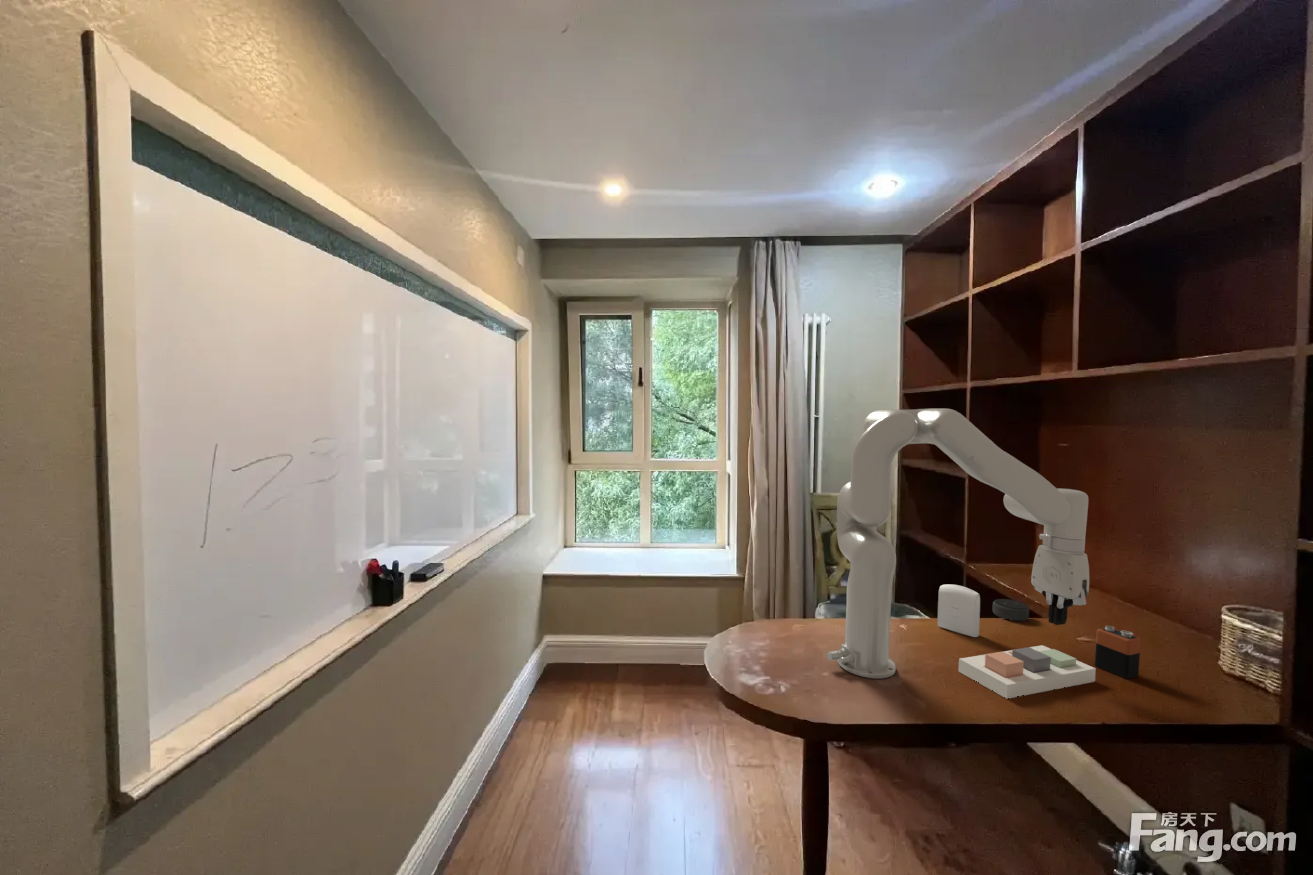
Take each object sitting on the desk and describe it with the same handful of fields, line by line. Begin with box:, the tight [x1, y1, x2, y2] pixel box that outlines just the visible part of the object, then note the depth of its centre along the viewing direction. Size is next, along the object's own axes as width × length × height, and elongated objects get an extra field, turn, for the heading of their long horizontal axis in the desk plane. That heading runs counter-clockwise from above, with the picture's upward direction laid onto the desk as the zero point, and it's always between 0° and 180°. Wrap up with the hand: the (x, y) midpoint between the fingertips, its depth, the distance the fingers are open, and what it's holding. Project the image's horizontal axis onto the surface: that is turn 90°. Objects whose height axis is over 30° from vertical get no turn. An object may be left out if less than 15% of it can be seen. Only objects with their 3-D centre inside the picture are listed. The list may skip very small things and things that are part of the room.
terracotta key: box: [984, 650, 1024, 678], centre depth 117 cm, size 5×5×3 cm
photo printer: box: [937, 584, 981, 638], centre depth 145 cm, size 10×4×12 cm, turn 39°
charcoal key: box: [1011, 646, 1051, 673], centre depth 119 cm, size 5×5×3 cm
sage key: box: [1038, 648, 1077, 668], centre depth 122 cm, size 5×5×3 cm
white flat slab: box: [958, 645, 1097, 699], centre depth 120 cm, size 26×12×3 cm, turn 107°
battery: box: [1094, 625, 1142, 680], centre depth 123 cm, size 4×7×10 cm, turn 20°
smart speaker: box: [992, 598, 1030, 622], centre depth 156 cm, size 9×9×4 cm
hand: (1057, 623), depth 121 cm, fingers closed
